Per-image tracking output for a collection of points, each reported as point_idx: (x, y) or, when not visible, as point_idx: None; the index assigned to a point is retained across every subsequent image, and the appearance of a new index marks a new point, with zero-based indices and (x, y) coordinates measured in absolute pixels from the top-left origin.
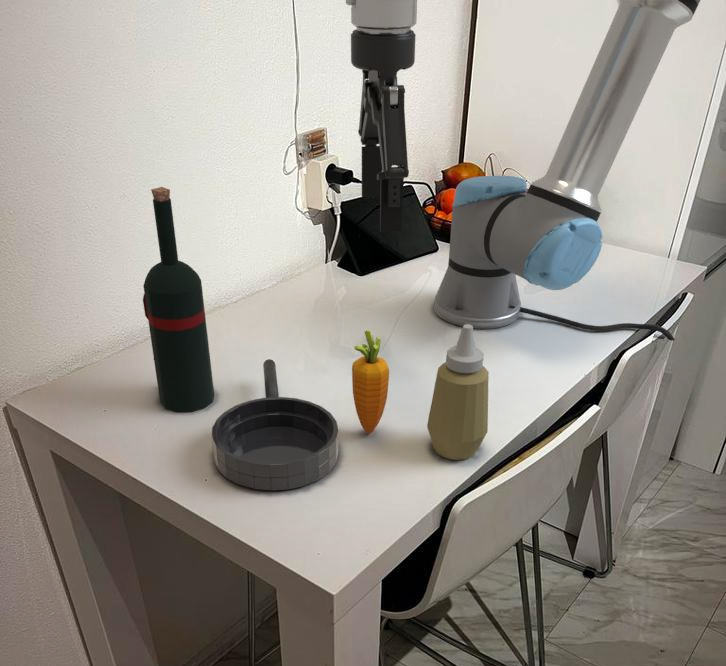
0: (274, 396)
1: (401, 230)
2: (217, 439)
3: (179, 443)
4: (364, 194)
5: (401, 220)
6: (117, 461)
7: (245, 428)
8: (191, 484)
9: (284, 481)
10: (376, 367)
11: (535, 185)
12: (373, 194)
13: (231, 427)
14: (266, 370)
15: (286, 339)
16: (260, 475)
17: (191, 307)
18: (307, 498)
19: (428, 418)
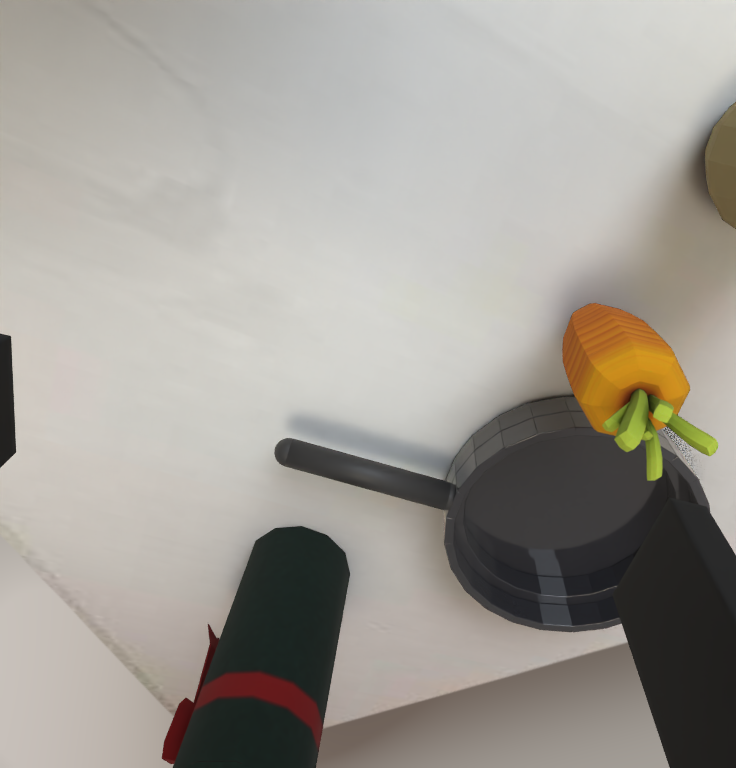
0: (451, 501)
1: (708, 514)
2: (554, 626)
3: (443, 611)
4: (2, 453)
5: (731, 559)
6: (453, 686)
7: (467, 530)
8: None
9: None
10: (676, 400)
11: None
12: (2, 398)
13: (481, 567)
14: (329, 477)
15: (82, 319)
16: None
17: (306, 752)
18: (718, 498)
19: (734, 225)
